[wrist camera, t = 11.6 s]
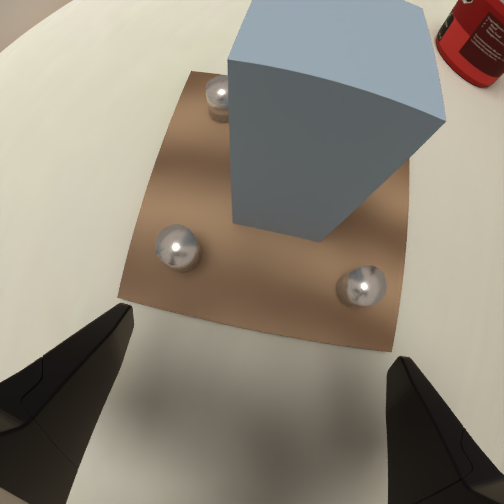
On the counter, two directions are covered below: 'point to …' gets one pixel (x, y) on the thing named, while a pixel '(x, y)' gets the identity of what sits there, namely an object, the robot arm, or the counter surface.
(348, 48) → the slate blue block
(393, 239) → the peg stand
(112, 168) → the counter surface
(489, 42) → the canned food
